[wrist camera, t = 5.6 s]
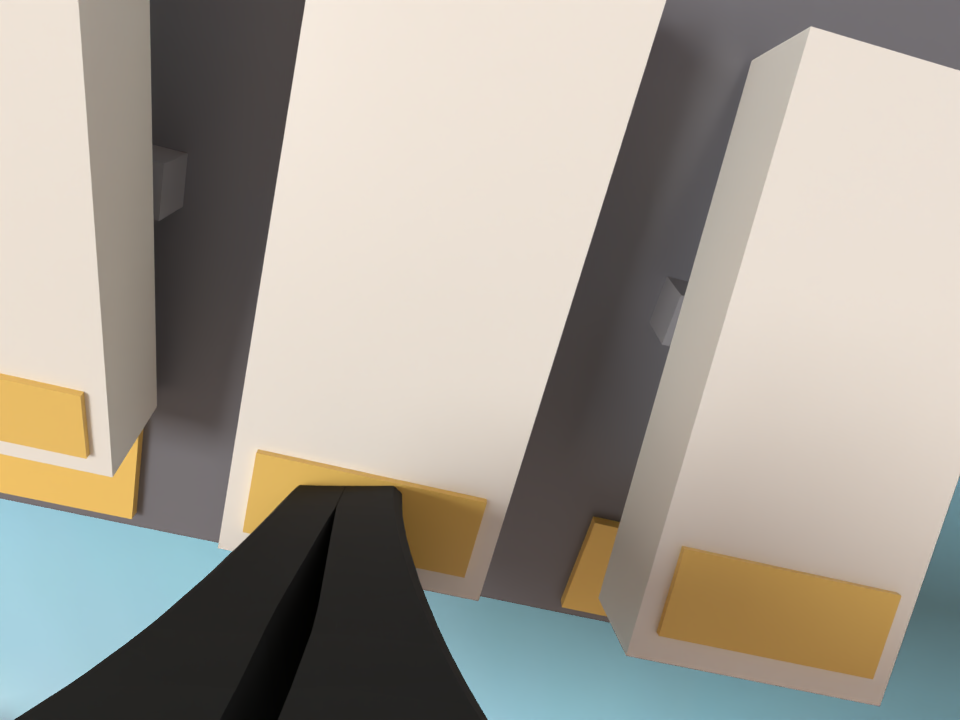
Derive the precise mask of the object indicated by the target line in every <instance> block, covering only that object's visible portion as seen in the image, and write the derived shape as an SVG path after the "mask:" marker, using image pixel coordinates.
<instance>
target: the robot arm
mask: <svg viewBox="0 0 960 720" xmlns="http://www.w3.org/2000/svg"><path fill="white" fill-rule="evenodd" d="M15 720H487V718H486V716H485V715H484V713H483V711H482V709H481V708H480V706H479V704H478V703H477V701H476V699H475V697H474V696H473V694H472V692H471V691H470V689H469V687H468V685H467V684H466V682H465V680H464V678H463V676H462V674H461V672H460V671H459V669H458V667H457V665H456V663H455V661H454V659H453V657H452V655H451V653H450V651H449V649H448V647H447V645H446V643H445V641H444V639H443V637H442V634H441V632H440V630H439V628H438V626H437V623H436V621H435V619H434V616H433V614H432V611H431V609H430V607H429V604H428V602H427V599H426V597H425V594H424V591H423V589H422V586H421V583H420V580H419V577H418V574H417V571H416V568H415V565H414V561H413V558H412V555H411V552H410V548H409V544H408V541H407V536H406V531H405V526H404V521H403V510H402V493H401V492H400V491H399V490H398V489H397V488H396V487H395V486H315V485H299V486H297V487H296V488H295V489H294V490H293V491H292V492H291V493H290V494H289V495H288V496H287V497H286V498H285V499H284V500H283V501H282V502H281V503H280V504H279V505H278V506H277V507H276V508H275V509H274V510H273V511H272V512H271V513H270V514H269V516H268V517H267V518H266V519H265V520H264V521H263V522H262V523H261V524H260V525H259V526H258V527H257V528H256V529H255V530H254V531H253V532H252V533H251V534H250V535H249V536H248V537H247V538H246V539H245V540H244V541H243V542H242V543H241V544H240V545H239V546H238V547H236V548H235V549H234V550H233V551H232V552H231V553H230V554H229V555H228V556H227V557H226V558H225V559H224V560H223V561H222V562H221V563H220V564H219V565H218V566H217V567H216V568H215V569H214V570H213V571H212V572H210V573H209V574H208V575H207V576H206V577H205V578H204V579H203V580H202V581H201V582H199V583H198V584H197V585H196V586H195V587H194V588H193V589H191V590H190V591H189V592H188V593H187V594H186V595H184V596H183V597H182V598H181V599H180V600H179V601H178V602H176V603H175V604H174V605H173V606H172V607H171V608H170V609H168V610H167V611H166V612H165V613H164V614H163V615H162V616H160V617H159V618H158V619H157V620H156V621H154V622H153V623H152V624H151V625H149V626H148V627H147V628H146V629H144V630H143V631H142V632H140V633H139V634H138V635H137V636H135V637H134V638H133V639H131V640H130V641H129V642H128V643H126V644H125V645H124V646H122V647H121V648H119V649H118V650H117V651H115V652H114V653H113V654H111V655H110V656H108V657H107V658H106V659H104V660H103V661H102V662H100V663H99V664H97V665H96V666H95V667H93V668H92V669H91V670H89V671H88V672H86V673H85V674H84V675H82V676H81V677H79V678H78V679H76V680H75V681H74V682H72V683H71V684H69V685H68V686H66V687H65V688H63V689H61V690H60V691H58V692H57V693H55V694H54V695H52V696H51V697H49V698H47V699H46V700H44V701H43V702H41V703H40V704H38V705H36V706H35V707H33V708H32V709H30V710H29V711H27V712H25V713H24V714H22V715H21V716H19V717H18V718H16V719H15Z"/></svg>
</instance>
